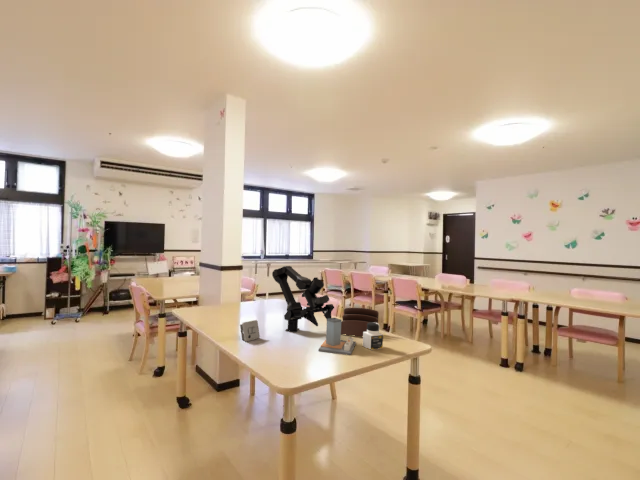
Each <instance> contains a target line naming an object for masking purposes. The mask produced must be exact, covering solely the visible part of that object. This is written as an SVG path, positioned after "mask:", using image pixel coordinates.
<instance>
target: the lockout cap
mask: <svg viewBox="0 0 640 480" xmlns="http://www.w3.org/2000/svg"><path fill="white" fill-rule="evenodd" d="M342 321H343V319H341V318H337V317H332V318H329V319H326V332H325V333H326V335H325V340H326V344H329V345H331V346H336V345H340V342H341V340H342V339H341V338H342V337H341V336H342V335H341V322H342Z"/></svg>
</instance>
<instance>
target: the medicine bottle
mask: <svg viewBox="0 0 640 480" xmlns="http://www.w3.org/2000/svg"><path fill="white" fill-rule="evenodd" d="M383 342H384V334H382V333H381V332H380V324H379V322H378V323H375V322H369V323H368V324H367V331H366V332H363V337H362V347H363V348H366V349H367V348H369V349H371V350H370V351H373V350H372V349H377V350H379V349H378V348H382V349H383V347H384V346H383V345H384V344H383ZM369 349H368V350H369Z"/></svg>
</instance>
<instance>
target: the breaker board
mask: <svg viewBox="0 0 640 480" xmlns="http://www.w3.org/2000/svg"><path fill="white" fill-rule="evenodd" d="M355 344H357V341H355V340H354V337H352V336H349V337H348V338H347V340H345V339H341V342H340V345H336V346H331V345H329V344H326V339H325V340H323V342H322V344H320V347H319V348H318V352H323V353H332V354H341V355H346V354H347V355H348V356H351V355H352V353H353V351H354V348H355V347H356V345H355ZM354 346H355V347H354ZM347 355H346V356H347Z"/></svg>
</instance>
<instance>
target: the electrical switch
mask: <svg viewBox="0 0 640 480" xmlns="http://www.w3.org/2000/svg"><path fill="white" fill-rule="evenodd" d="M258 321H259V320H257V319H253V320H250V321H244V322H241V323H242V324H239V326H240V327H239V328H240V334H241V341H244V342H251V341H253V340H257V339H260V337H261V336H260V328H259V322H258Z"/></svg>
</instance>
